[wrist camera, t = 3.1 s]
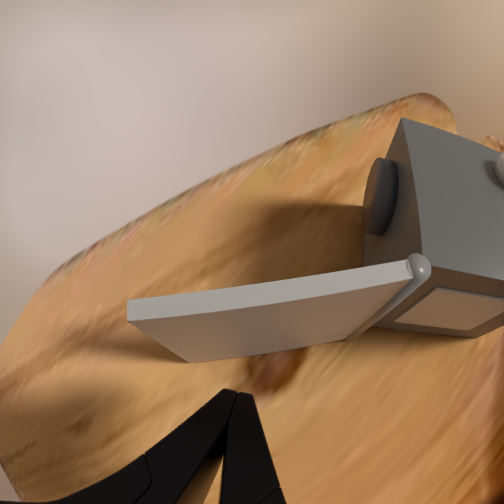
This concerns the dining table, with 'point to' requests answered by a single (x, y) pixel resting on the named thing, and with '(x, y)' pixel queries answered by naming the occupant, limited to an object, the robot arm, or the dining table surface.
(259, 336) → the side door
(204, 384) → the dining table surface
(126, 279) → the dining table surface
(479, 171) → the camera body
